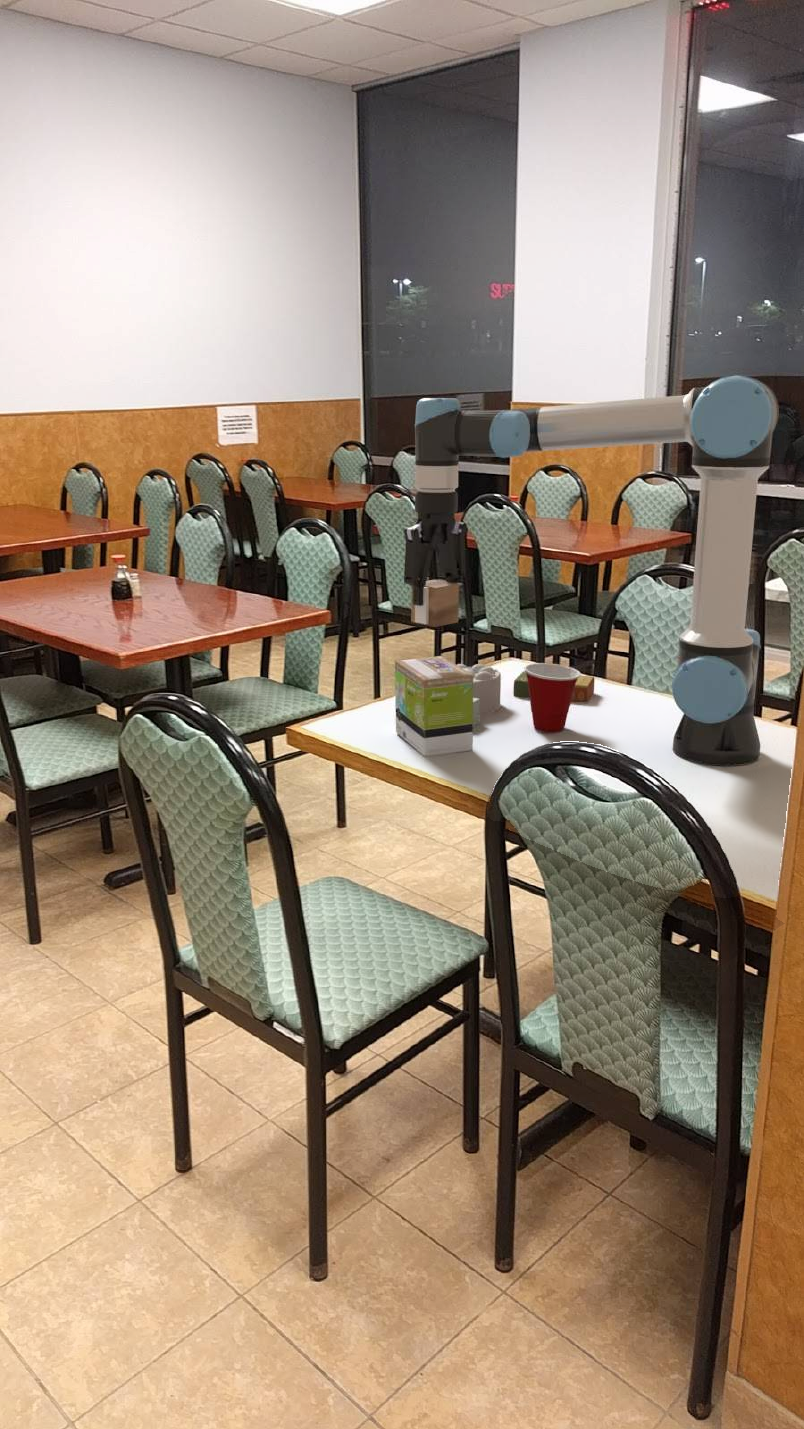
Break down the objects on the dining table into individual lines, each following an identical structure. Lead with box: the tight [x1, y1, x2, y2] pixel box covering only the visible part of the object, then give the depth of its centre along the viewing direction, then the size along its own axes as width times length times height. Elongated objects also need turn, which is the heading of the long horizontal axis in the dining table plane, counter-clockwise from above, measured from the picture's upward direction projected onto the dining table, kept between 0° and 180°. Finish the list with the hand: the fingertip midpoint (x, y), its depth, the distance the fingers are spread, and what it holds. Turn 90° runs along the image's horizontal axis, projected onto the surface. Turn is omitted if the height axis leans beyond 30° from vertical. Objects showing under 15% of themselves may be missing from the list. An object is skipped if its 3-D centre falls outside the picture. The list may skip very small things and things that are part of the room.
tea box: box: [394, 655, 474, 758], centre depth 199 cm, size 15×10×15 cm
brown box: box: [410, 579, 460, 628], centre depth 194 cm, size 6×6×7 cm
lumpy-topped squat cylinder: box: [456, 663, 502, 716], centre depth 222 cm, size 10×13×9 cm
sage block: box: [473, 698, 480, 727], centre depth 212 cm, size 5×5×5 cm
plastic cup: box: [523, 662, 582, 734], centre depth 208 cm, size 11×11×12 cm
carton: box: [513, 670, 595, 704], centre depth 232 cm, size 8×16×4 cm, turn 71°
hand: (434, 620), depth 195 cm, fingers closed on brown box, 6 cm apart
